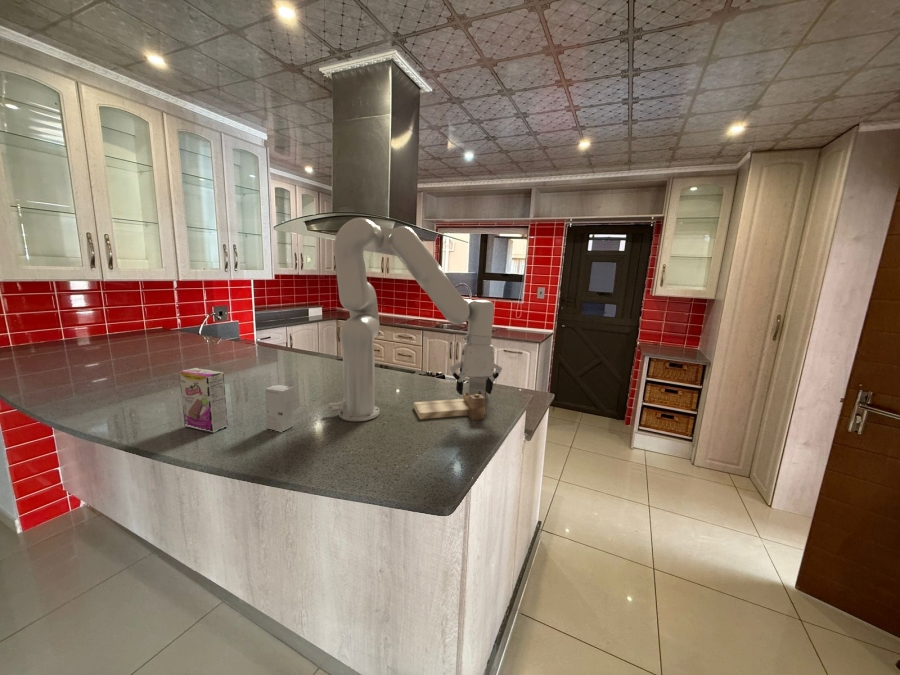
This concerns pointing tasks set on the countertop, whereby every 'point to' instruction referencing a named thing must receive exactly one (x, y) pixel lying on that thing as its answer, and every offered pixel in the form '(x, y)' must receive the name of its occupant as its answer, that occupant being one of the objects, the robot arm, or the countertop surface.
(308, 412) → the countertop surface
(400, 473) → the countertop surface
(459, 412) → the board
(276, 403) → the skincare box
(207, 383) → the candy bar box
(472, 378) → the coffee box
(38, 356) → the countertop surface
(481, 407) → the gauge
